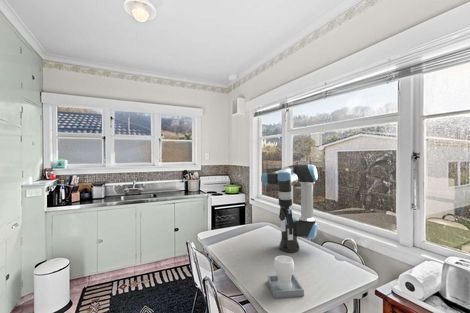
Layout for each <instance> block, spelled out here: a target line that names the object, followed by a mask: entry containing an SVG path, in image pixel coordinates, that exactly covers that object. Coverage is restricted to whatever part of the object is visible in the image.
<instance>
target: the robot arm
mask: <svg viewBox="0 0 470 313" xmlns="http://www.w3.org/2000/svg"><path fill="white" fill-rule="evenodd" d="M260 180H261V184H263V185H264V186H265V185H266V186H277V189H278V191H277V192H278V193H277V196H278V205H279V207H280V208H279V214H278V218H279V219H280V232H281V233H280V234H281V239H280V241H279V249H280V251H282V252H285V253H297V252H299V251H300V247H301V246H300V243H299V241H298V238H303V239H310V240H314V239H315V238H316V237H317V234H318V229H319V224H318V222H316V219H315V218H314V185H315V184H316V181H318V170H317V167H316V165H314V164H309V163H308V164H292V165H288V166H284V167H283V168H281V169H279V170H277V171H273V172H264V173H262V174H261V177H260ZM297 183H299V184H300V217H299V218H298V219H297V218H296V217H293V213H292V209H290V207H292V206H293V199H292V198H293V191H292V190H293V189H292V188H293V187H292V186H294V185H296V184H297Z"/></svg>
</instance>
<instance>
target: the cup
mask: <svg viewBox="0 0 470 313" xmlns="http://www.w3.org/2000/svg"><path fill="white" fill-rule="evenodd" d="M273 264H274V265H273V267H274V271H275V273H276V275H278V288H279V289H280V290H291V289H292V284H291V276H292V274H294V271H295V263H294V259H293V257H292V256H288V255H278V256H275V258H274V262H273Z"/></svg>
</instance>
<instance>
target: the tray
mask: <svg viewBox="0 0 470 313" xmlns="http://www.w3.org/2000/svg"><path fill="white" fill-rule="evenodd" d="M267 284H268V286H269V288H270V291H271V293H272V296H273V298H274V299H281V298H291V297H304V296H305V290H304V288H303V286H302V285H301V283H300V282H299V279H297V276H296V275H295V274H294V273H293V274H292V276H291V284H292V289H291V290H280V289H279V288H278V275H277V274H276V275H267Z"/></svg>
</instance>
